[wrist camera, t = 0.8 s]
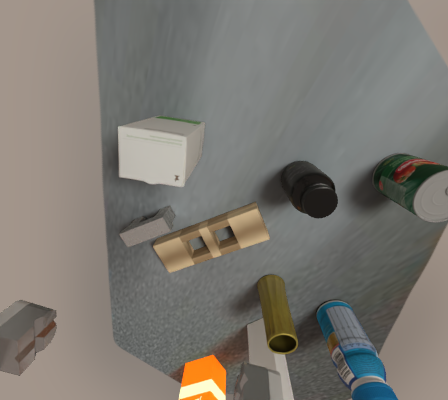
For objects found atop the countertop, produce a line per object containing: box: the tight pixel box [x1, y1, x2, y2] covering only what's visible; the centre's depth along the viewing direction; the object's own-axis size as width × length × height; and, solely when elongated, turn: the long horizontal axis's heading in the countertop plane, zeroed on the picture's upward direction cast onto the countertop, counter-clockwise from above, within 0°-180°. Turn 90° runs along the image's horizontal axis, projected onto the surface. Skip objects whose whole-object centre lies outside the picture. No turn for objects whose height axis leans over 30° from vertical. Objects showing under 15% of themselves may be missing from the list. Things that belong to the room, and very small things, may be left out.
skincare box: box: [118, 116, 205, 187], centre depth 35 cm, size 8×7×16 cm
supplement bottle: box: [281, 161, 338, 218], centre depth 39 cm, size 7×7×12 cm
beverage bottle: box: [317, 300, 398, 400], centre depth 47 cm, size 8×8×20 cm
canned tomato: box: [372, 153, 448, 222], centre depth 38 cm, size 8×8×11 cm
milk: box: [247, 318, 294, 400], centre depth 49 cm, size 6×6×22 cm
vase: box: [257, 275, 298, 355], centre depth 48 cm, size 6×6×14 cm
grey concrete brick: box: [119, 206, 176, 247], centre depth 46 cm, size 3×9×6 cm, turn 113°
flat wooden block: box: [153, 202, 270, 273], centre depth 48 cm, size 7×22×3 cm, turn 113°
